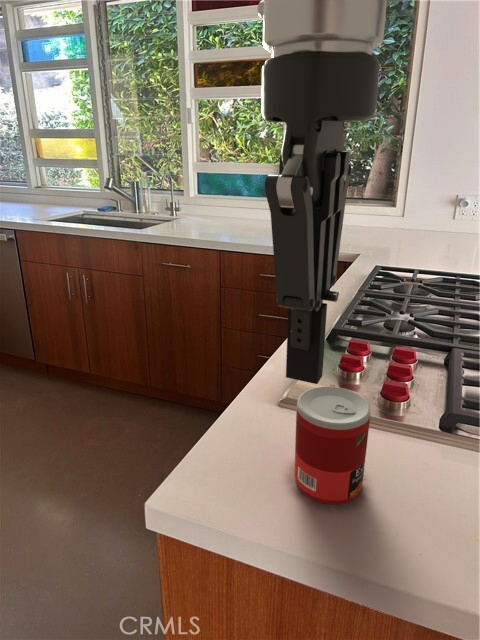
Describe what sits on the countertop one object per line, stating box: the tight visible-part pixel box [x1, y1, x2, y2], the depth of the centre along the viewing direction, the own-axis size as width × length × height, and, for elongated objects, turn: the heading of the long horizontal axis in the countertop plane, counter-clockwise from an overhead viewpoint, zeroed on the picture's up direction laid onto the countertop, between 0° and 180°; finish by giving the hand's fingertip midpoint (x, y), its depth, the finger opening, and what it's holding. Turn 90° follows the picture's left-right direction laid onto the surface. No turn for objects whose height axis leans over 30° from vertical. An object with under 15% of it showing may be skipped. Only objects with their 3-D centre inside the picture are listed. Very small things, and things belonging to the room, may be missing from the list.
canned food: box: [293, 386, 371, 505], centre depth 53 cm, size 8×8×11 cm
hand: (304, 376), depth 39 cm, fingers closed
